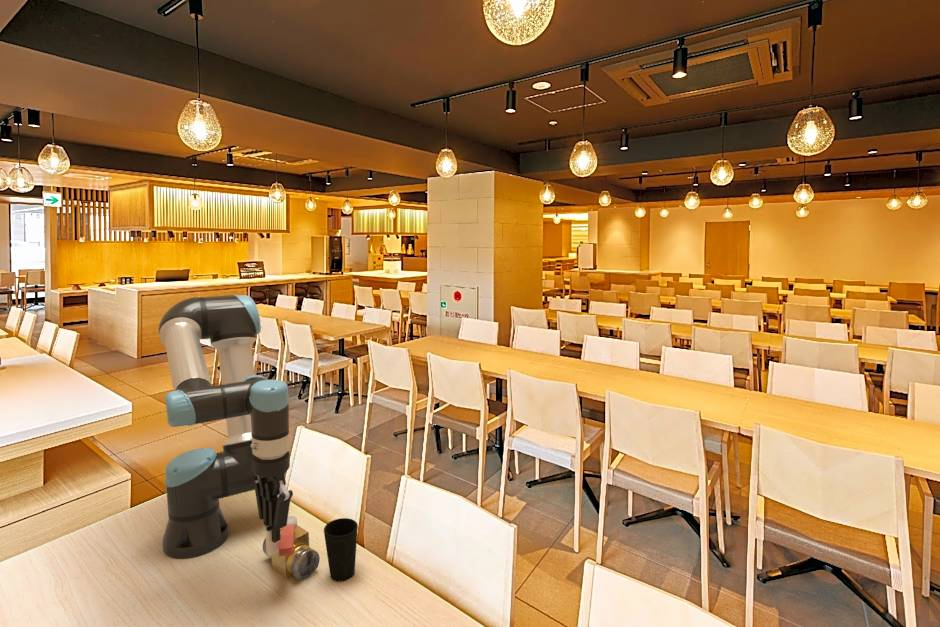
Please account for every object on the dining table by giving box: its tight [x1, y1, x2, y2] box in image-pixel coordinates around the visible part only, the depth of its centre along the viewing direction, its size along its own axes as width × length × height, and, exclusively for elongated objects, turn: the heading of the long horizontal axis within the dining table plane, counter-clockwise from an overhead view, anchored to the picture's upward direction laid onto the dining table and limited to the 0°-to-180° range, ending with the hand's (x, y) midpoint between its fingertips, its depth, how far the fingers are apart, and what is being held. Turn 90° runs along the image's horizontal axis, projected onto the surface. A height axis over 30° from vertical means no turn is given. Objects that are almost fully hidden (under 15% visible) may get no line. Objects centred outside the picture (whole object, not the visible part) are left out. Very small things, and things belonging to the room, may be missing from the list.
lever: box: [279, 515, 298, 557], centre depth 118 cm, size 13×4×2 cm, turn 16°
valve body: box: [262, 524, 321, 581], centre depth 123 cm, size 14×7×10 cm, turn 51°
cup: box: [323, 517, 359, 583], centre depth 120 cm, size 8×8×12 cm
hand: (273, 552), depth 114 cm, fingers closed
